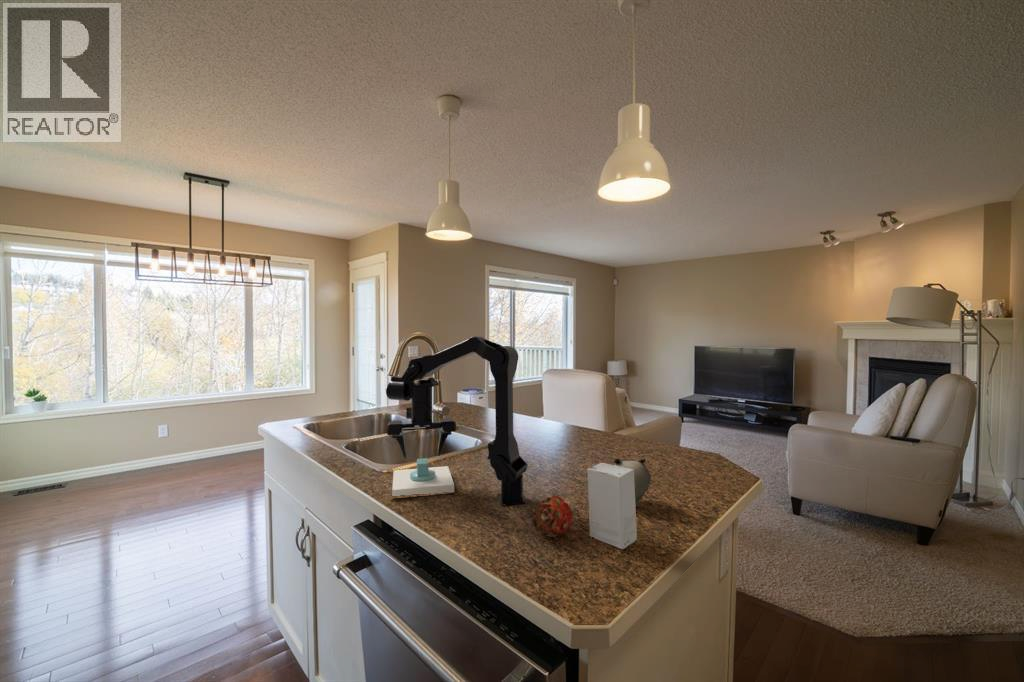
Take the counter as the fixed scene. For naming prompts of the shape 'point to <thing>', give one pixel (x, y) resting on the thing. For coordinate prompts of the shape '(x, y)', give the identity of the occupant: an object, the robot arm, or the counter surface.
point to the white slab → (422, 482)
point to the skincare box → (612, 504)
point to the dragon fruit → (552, 516)
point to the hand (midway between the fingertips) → (422, 456)
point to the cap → (422, 471)
